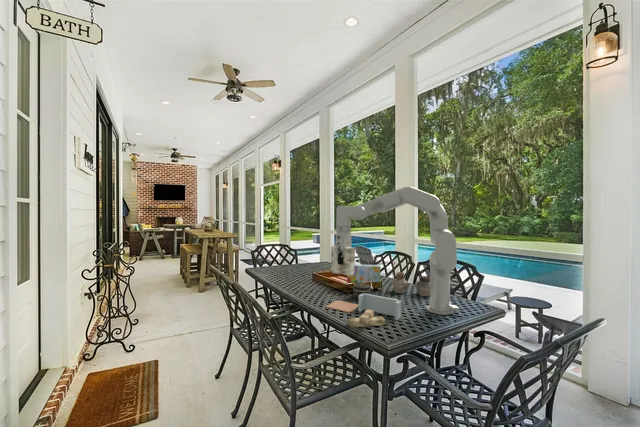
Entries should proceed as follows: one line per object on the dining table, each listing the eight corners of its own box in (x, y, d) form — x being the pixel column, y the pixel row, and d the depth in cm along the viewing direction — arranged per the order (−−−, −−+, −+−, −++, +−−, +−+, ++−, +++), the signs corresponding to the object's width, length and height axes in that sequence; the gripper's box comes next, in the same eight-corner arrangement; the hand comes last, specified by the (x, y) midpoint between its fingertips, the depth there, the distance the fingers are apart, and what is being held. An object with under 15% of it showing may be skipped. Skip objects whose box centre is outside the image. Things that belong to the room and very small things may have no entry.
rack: (401, 316, 147) (401, 300, 147) (397, 320, 143) (397, 303, 143) (362, 308, 159) (363, 293, 158) (358, 311, 154) (358, 295, 154)
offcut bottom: (381, 322, 141) (381, 316, 141) (384, 326, 137) (385, 319, 137) (348, 325, 138) (348, 318, 138) (350, 328, 134) (350, 321, 134)
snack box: (379, 287, 197) (379, 264, 197) (380, 290, 192) (380, 266, 191) (346, 286, 200) (347, 263, 199) (346, 288, 194) (347, 265, 193)
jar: (349, 298, 176) (349, 285, 175) (360, 294, 182) (360, 281, 182) (363, 302, 168) (363, 288, 168) (374, 298, 175) (374, 285, 175)
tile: (359, 306, 162) (359, 304, 162) (349, 312, 152) (349, 311, 152) (337, 301, 170) (337, 300, 169) (325, 307, 159) (325, 306, 159)
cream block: (354, 274, 158) (354, 247, 158) (350, 275, 155) (351, 248, 155) (334, 271, 165) (335, 245, 164) (330, 272, 162) (331, 246, 161)
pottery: (392, 288, 195) (393, 270, 194) (434, 293, 186) (434, 273, 186) (390, 293, 184) (390, 274, 184) (434, 298, 175) (434, 278, 175)
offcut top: (367, 314, 144) (367, 308, 144) (374, 315, 142) (374, 309, 142) (359, 323, 133) (359, 317, 133) (366, 324, 132) (366, 318, 131)
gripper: (341, 230, 150) (341, 267, 151) (356, 228, 164) (356, 262, 165) (329, 229, 154) (328, 265, 155) (344, 227, 168) (344, 260, 169)
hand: (342, 263), depth 160 cm, fingers closed on cream block, 4 cm apart
